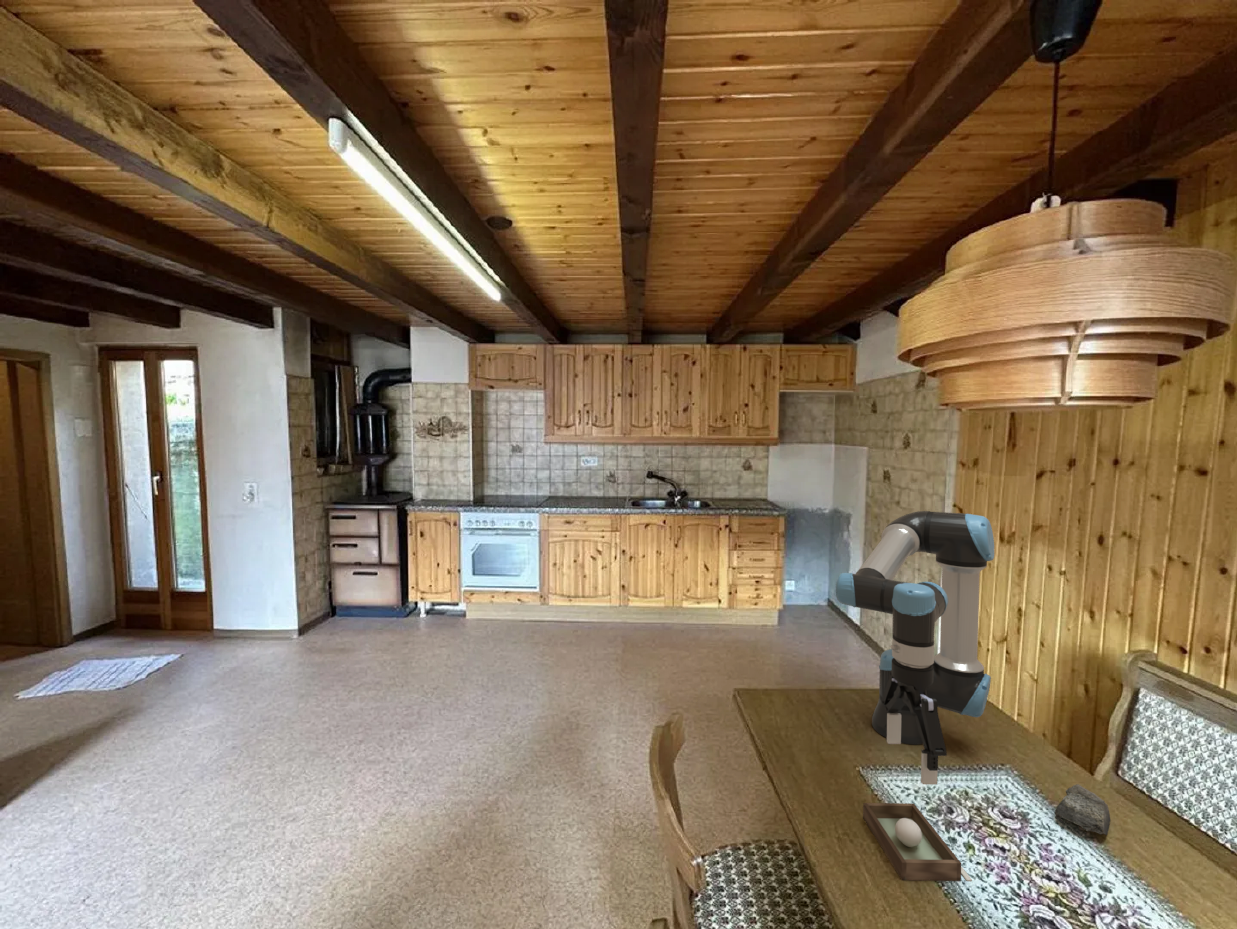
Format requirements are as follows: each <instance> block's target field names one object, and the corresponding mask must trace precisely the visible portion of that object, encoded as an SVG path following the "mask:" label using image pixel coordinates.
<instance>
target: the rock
mask: <svg viewBox="0 0 1237 929" xmlns="http://www.w3.org/2000/svg"><path fill="white" fill-rule="evenodd" d="M1065 793H1066V795H1065V796H1064V797H1063V798H1062V800H1061V801H1060V802H1059V803H1058V805H1057V806H1056V808H1055V810H1054V815H1055V816H1054V818H1055V819H1056V820H1057V821H1058V822H1060V823H1062V824H1063V823H1065V822H1064V821H1063V820H1066V821H1068V822H1070V823H1073V824H1075V825H1077V826H1080V828H1081V829H1083V830H1084V831H1087V832H1095V833H1097V834H1099V835H1106V836H1108V833H1109V830H1110V824H1111V823H1110V822H1111V815H1110V810H1109V805H1108V803H1106V802H1105V800H1103V799H1102V798H1101V797H1100V796H1098V795H1097V794H1096V793H1095V792H1092V791H1090V790H1089V789H1087V788H1085V787H1083V786H1082V785H1081V784H1073V785H1072V786H1071V787H1068V788H1067V789H1065Z"/></svg>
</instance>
